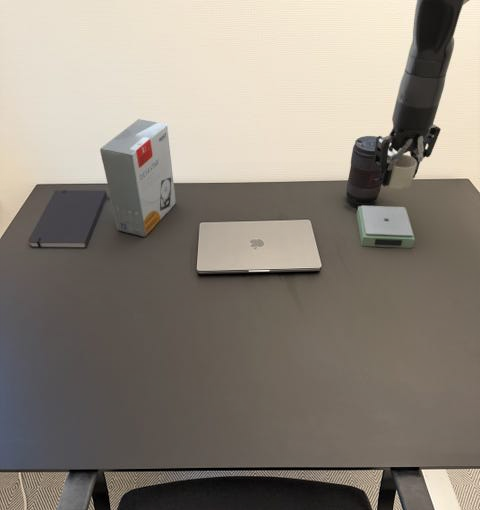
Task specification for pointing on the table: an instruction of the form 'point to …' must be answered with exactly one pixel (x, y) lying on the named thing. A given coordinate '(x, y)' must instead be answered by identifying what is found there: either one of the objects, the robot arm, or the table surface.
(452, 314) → the table surface
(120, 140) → the hard drive box
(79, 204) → the notebook
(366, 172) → the camera lens
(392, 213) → the scale
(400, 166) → the beige cup
